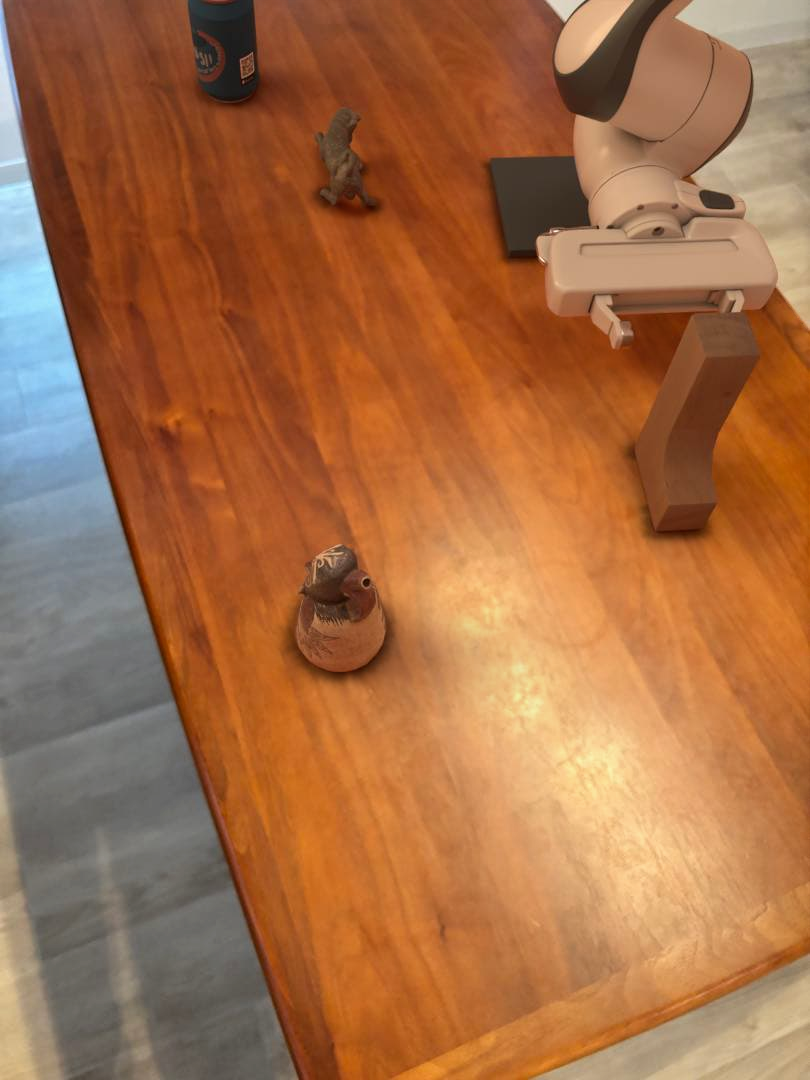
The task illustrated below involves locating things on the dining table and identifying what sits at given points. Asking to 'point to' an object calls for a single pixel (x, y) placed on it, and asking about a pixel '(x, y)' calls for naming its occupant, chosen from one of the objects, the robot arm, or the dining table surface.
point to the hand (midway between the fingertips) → (677, 342)
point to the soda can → (225, 48)
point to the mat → (537, 199)
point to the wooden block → (693, 418)
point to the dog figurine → (342, 159)
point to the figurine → (339, 612)
